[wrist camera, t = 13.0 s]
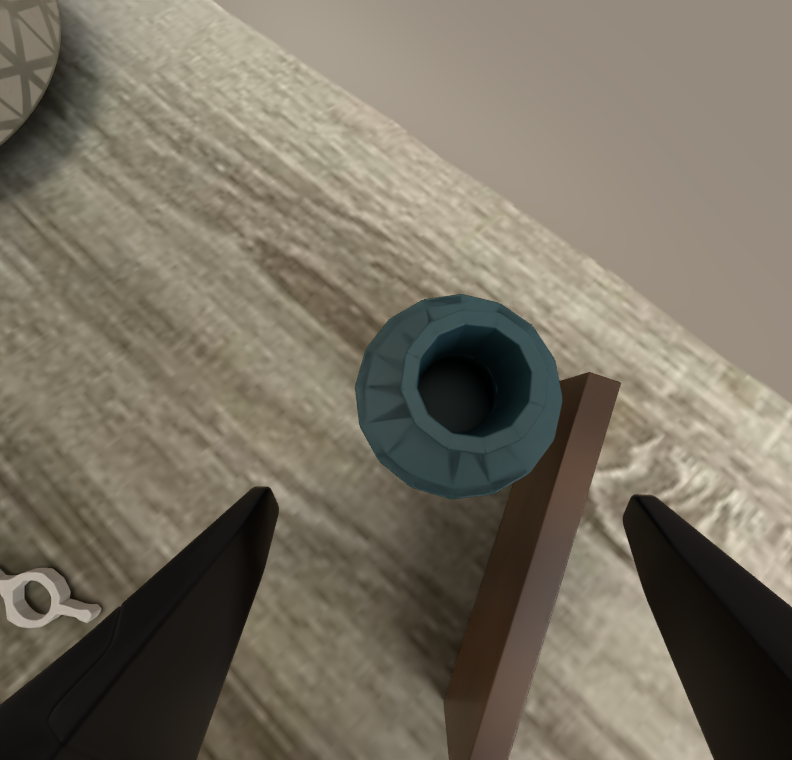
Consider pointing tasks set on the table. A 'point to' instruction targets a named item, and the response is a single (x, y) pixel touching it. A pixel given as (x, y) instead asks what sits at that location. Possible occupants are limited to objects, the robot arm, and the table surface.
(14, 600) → the scissors
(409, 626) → the table surface
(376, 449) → the teal faceted vase
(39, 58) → the planter
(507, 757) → the wall
